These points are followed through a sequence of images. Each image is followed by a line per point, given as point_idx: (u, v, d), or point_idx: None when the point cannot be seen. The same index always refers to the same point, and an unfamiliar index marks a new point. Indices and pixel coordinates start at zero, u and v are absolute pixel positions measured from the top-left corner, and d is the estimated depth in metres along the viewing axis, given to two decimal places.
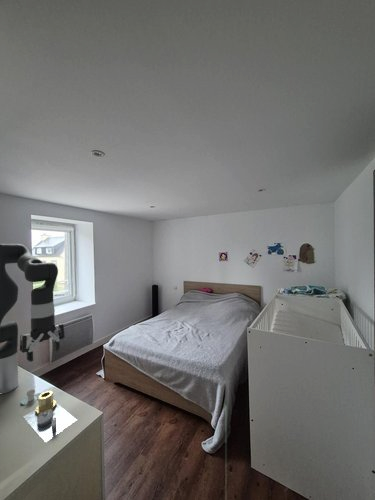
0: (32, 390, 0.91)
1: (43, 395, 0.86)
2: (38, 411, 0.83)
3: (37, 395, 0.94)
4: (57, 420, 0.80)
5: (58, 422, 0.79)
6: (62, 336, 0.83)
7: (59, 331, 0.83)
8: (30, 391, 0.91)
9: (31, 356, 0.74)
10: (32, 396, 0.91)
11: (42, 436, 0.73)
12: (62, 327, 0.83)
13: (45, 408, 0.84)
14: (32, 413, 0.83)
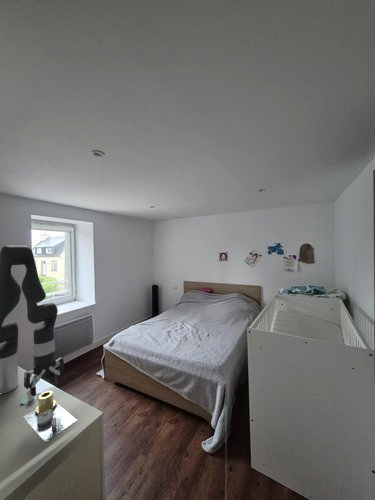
0: None
1: (43, 395, 0.86)
2: (38, 411, 0.83)
3: (37, 395, 0.94)
4: (57, 420, 0.80)
5: (58, 422, 0.79)
6: (62, 369, 0.90)
7: (59, 365, 0.91)
8: None
9: (34, 391, 0.82)
10: (32, 396, 0.92)
11: (42, 436, 0.73)
12: (62, 361, 0.90)
13: (45, 408, 0.84)
14: (32, 413, 0.83)
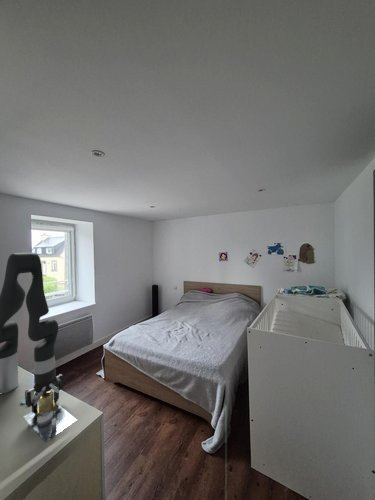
0: None
1: (43, 395, 0.86)
2: (38, 411, 0.83)
3: None
4: (57, 420, 0.80)
5: (58, 422, 0.79)
6: (61, 387, 0.90)
7: (59, 381, 0.90)
8: None
9: (36, 409, 0.82)
10: (32, 395, 0.92)
11: (42, 436, 0.73)
12: (62, 378, 0.90)
13: (45, 408, 0.84)
14: (32, 413, 0.83)
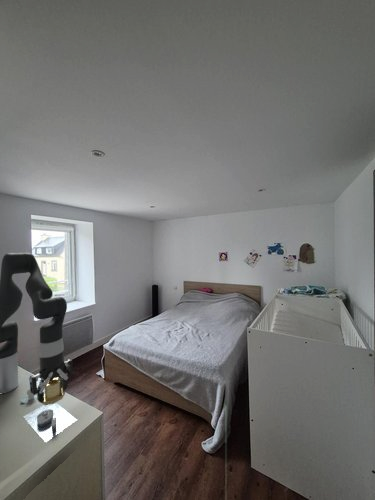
0: None
1: (50, 382, 0.76)
2: (45, 400, 0.72)
3: None
4: (57, 420, 0.80)
5: (58, 422, 0.79)
6: (70, 373, 0.80)
7: (67, 368, 0.80)
8: None
9: (42, 397, 0.72)
10: (32, 395, 0.92)
11: (42, 436, 0.73)
12: (71, 363, 0.80)
13: (52, 397, 0.73)
14: (32, 413, 0.83)
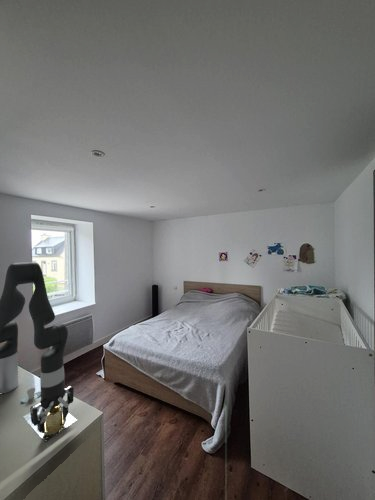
0: (32, 389, 0.92)
1: (51, 410, 0.76)
2: (45, 430, 0.72)
3: (37, 393, 0.95)
4: None
5: None
6: (71, 400, 0.80)
7: (68, 394, 0.80)
8: (30, 389, 0.92)
9: (43, 427, 0.72)
10: (32, 394, 0.93)
11: (42, 436, 0.73)
12: (72, 390, 0.80)
13: (53, 426, 0.73)
14: None
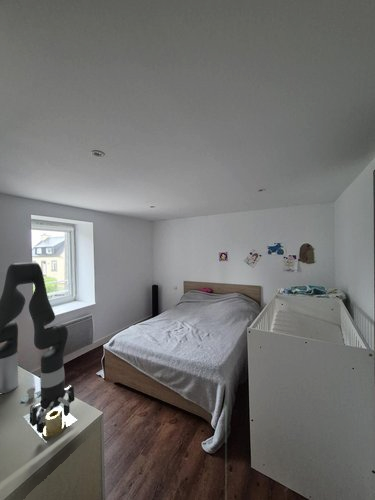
0: (32, 388, 0.92)
1: (51, 414, 0.76)
2: (45, 433, 0.72)
3: (37, 393, 0.95)
4: None
5: None
6: (72, 399, 0.80)
7: (69, 393, 0.80)
8: (30, 389, 0.92)
9: (41, 427, 0.71)
10: (32, 394, 0.93)
11: (42, 436, 0.73)
12: (72, 389, 0.80)
13: (53, 430, 0.73)
14: None
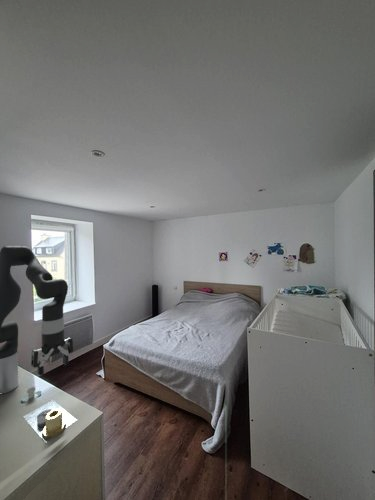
0: (32, 388, 0.93)
1: (51, 414, 0.76)
2: (45, 433, 0.72)
3: (37, 393, 0.96)
4: None
5: None
6: (71, 350, 0.85)
7: (68, 345, 0.86)
8: (30, 389, 0.92)
9: (42, 370, 0.77)
10: (32, 394, 0.93)
11: (42, 436, 0.73)
12: (71, 341, 0.85)
13: (53, 430, 0.73)
14: (32, 413, 0.83)
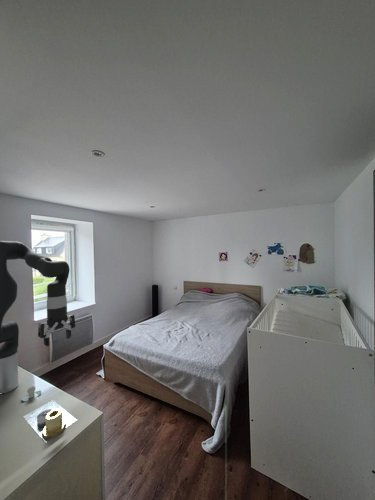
0: (32, 387, 0.93)
1: (51, 414, 0.76)
2: (45, 433, 0.72)
3: (37, 392, 0.96)
4: None
5: None
6: (73, 325, 0.94)
7: (70, 321, 0.94)
8: (30, 388, 0.93)
9: (48, 341, 0.85)
10: (32, 393, 0.93)
11: (42, 436, 0.73)
12: (73, 317, 0.94)
13: (53, 430, 0.73)
14: (32, 413, 0.83)
